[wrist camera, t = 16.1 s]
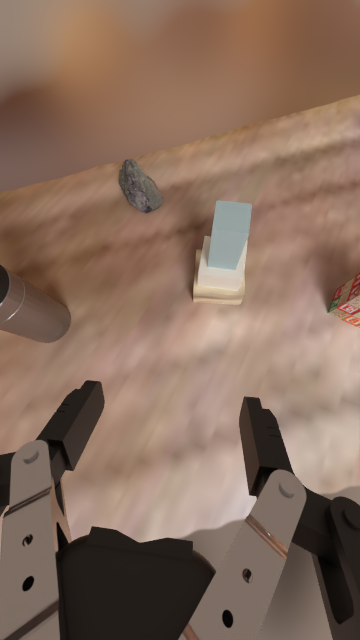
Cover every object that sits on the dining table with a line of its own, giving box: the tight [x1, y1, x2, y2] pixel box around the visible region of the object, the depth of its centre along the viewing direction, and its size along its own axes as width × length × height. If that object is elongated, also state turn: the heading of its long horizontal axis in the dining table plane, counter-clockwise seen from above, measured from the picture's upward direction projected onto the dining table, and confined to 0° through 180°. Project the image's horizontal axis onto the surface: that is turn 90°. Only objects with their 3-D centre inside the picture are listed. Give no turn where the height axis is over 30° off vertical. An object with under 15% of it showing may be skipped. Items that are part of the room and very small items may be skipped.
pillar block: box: [208, 201, 252, 270], centre depth 36 cm, size 5×5×10 cm
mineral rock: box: [119, 159, 163, 213], centre depth 54 cm, size 13×11×10 cm
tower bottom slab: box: [193, 250, 245, 305], centre depth 48 cm, size 10×10×5 cm
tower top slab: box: [198, 236, 248, 291], centre depth 43 cm, size 8×8×5 cm
